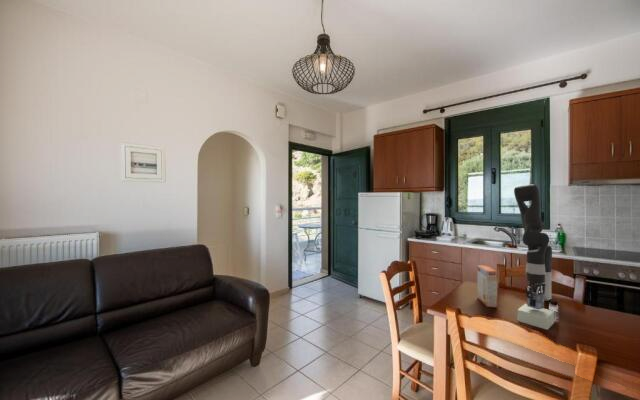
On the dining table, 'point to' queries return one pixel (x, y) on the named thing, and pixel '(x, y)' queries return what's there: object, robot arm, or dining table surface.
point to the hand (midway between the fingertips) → (535, 305)
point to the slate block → (537, 301)
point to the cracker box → (487, 286)
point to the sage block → (536, 316)
